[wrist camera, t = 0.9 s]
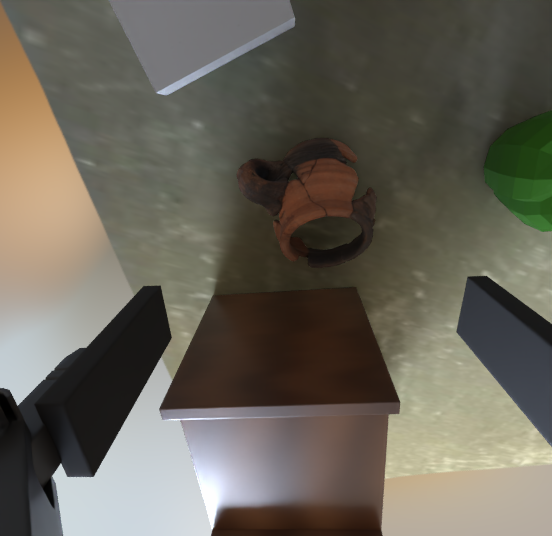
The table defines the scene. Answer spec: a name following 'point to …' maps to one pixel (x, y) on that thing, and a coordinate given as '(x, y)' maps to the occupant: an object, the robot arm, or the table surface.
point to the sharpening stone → (197, 34)
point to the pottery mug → (311, 197)
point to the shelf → (286, 414)
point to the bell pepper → (524, 170)
